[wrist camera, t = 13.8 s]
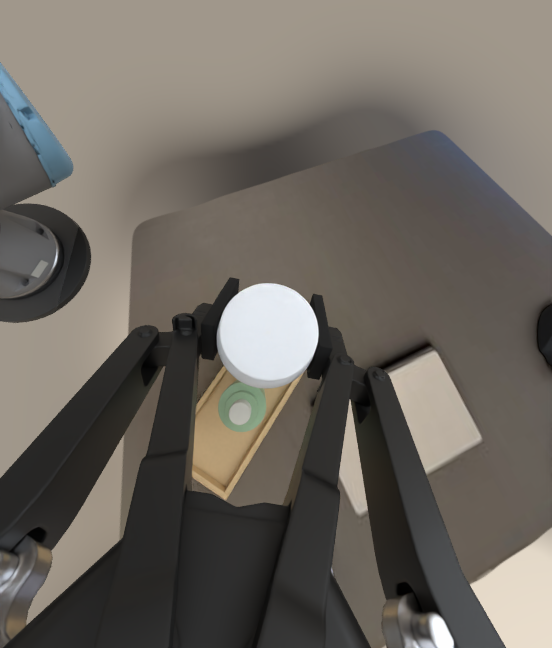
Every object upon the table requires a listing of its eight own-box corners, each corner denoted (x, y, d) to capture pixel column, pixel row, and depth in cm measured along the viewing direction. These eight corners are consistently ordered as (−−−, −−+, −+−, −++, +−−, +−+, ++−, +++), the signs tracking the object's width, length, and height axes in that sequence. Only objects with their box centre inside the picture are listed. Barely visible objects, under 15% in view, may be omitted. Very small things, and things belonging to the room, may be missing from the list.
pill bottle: (219, 340, 21) (173, 316, 10) (270, 303, 22) (280, 243, 11) (258, 392, 20) (254, 429, 9) (308, 351, 21) (360, 342, 10)
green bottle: (226, 412, 36) (208, 441, 23) (230, 375, 37) (215, 383, 24) (263, 415, 36) (264, 445, 24) (266, 378, 37) (269, 387, 25)
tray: (228, 491, 34) (225, 500, 32) (167, 449, 35) (161, 456, 33) (317, 344, 39) (321, 344, 37) (263, 309, 39) (264, 306, 37)
